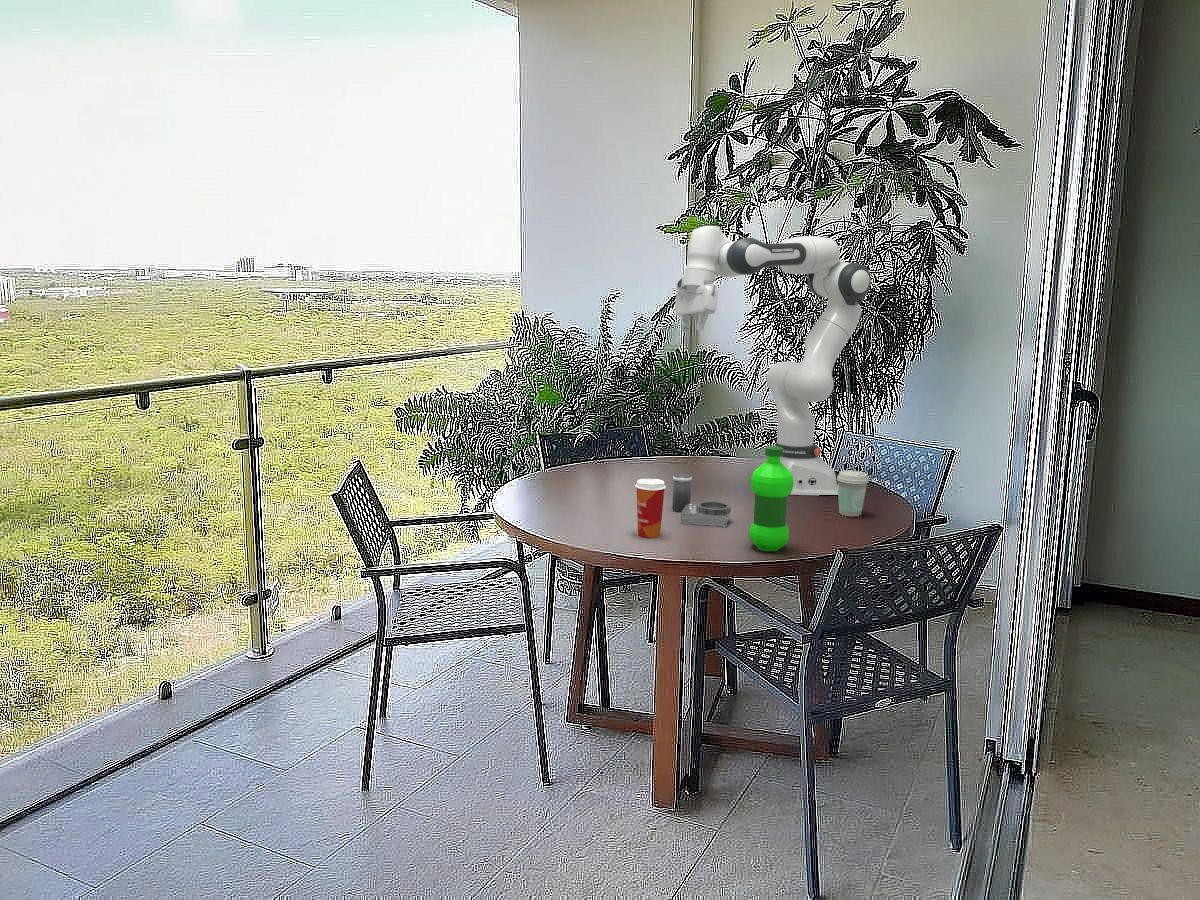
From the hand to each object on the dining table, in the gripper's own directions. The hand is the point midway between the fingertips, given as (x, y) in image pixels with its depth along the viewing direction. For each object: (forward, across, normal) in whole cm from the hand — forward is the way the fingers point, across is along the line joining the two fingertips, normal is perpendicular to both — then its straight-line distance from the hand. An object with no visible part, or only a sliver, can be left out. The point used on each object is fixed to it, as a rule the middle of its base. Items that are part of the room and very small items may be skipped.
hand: (692, 331), depth 262 cm
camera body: (+51, -17, -4) cm, 54 cm away
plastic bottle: (+54, -43, -8) cm, 70 cm away
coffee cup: (+45, -22, -46) cm, 68 cm away
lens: (+50, -5, -2) cm, 51 cm away
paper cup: (+56, -25, +16) cm, 63 cm away
